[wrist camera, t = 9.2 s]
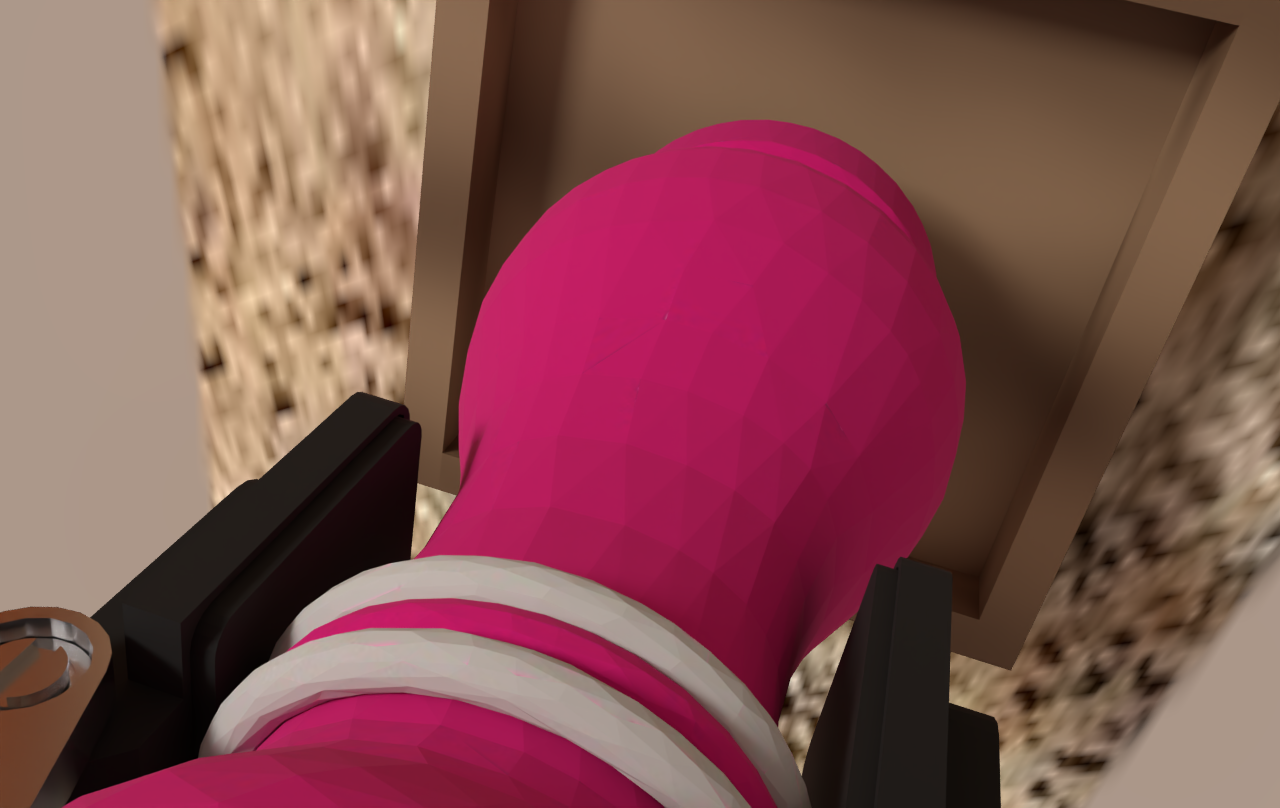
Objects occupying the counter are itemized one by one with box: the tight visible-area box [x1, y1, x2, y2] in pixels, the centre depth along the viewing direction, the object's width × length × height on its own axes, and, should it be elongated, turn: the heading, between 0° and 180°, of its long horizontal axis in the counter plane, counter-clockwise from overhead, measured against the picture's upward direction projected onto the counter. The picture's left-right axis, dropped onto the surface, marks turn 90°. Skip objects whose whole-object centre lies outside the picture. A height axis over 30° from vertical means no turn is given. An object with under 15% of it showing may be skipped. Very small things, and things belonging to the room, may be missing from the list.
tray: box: [404, 0, 1280, 670], centre depth 22 cm, size 14×14×2 cm
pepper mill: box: [62, 120, 966, 808], centre depth 11 cm, size 7×7×20 cm
